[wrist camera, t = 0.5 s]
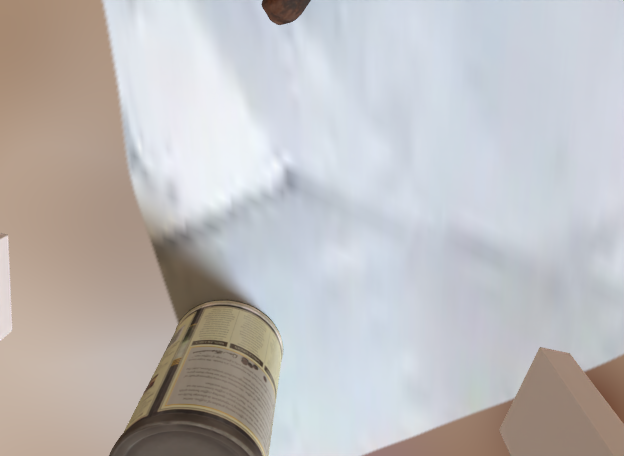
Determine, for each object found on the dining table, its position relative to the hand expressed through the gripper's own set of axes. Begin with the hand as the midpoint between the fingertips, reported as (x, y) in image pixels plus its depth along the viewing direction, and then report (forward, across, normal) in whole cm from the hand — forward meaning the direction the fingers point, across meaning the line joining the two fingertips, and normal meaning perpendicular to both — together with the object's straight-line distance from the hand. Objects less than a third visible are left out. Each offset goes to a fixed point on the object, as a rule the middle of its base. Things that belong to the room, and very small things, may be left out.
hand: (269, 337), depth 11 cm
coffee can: (+26, -4, -20) cm, 33 cm away
